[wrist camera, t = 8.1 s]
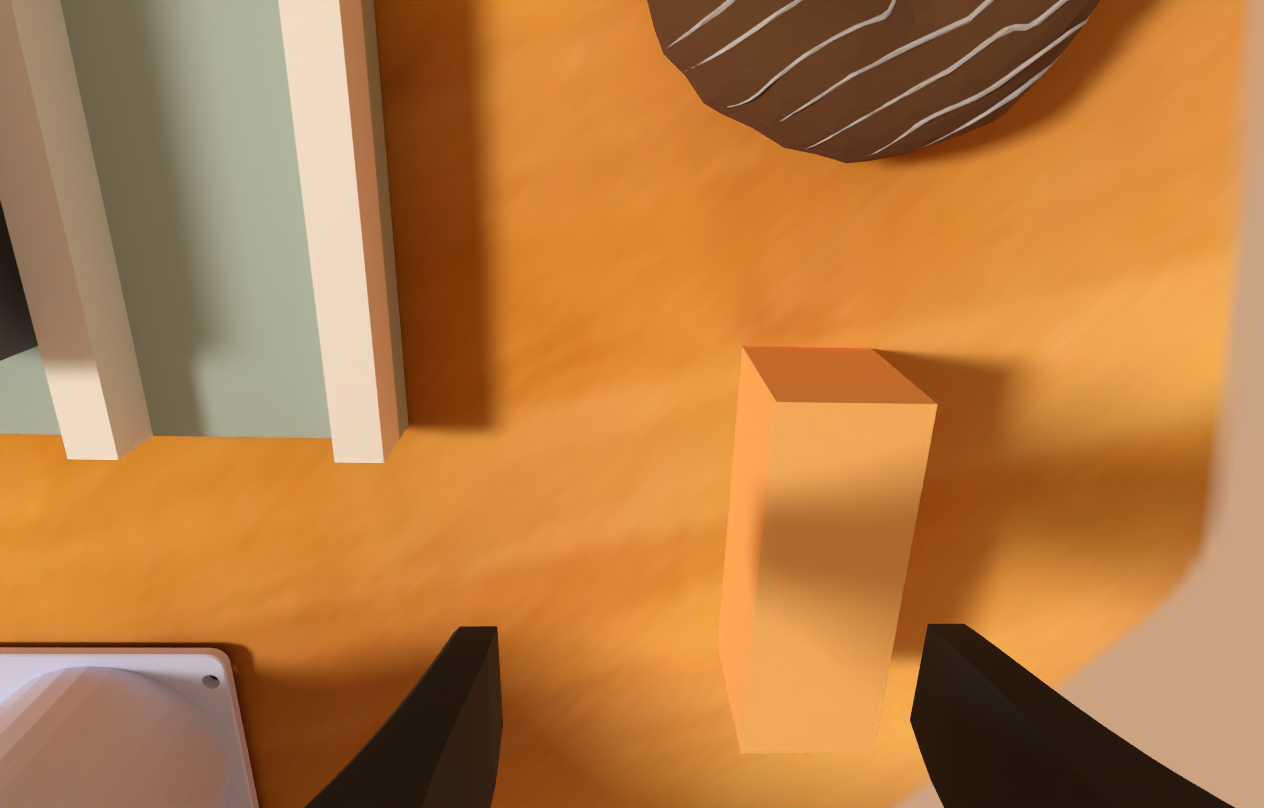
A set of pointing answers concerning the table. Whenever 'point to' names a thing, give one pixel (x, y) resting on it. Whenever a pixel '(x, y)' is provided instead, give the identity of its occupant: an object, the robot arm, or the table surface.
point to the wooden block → (818, 544)
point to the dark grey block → (12, 301)
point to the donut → (864, 65)
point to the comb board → (200, 224)
